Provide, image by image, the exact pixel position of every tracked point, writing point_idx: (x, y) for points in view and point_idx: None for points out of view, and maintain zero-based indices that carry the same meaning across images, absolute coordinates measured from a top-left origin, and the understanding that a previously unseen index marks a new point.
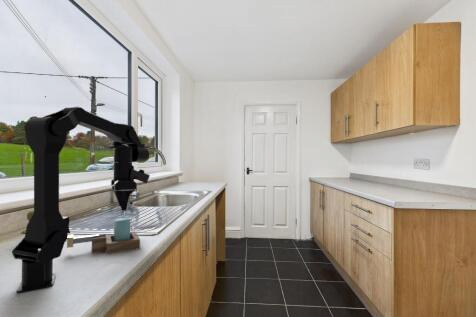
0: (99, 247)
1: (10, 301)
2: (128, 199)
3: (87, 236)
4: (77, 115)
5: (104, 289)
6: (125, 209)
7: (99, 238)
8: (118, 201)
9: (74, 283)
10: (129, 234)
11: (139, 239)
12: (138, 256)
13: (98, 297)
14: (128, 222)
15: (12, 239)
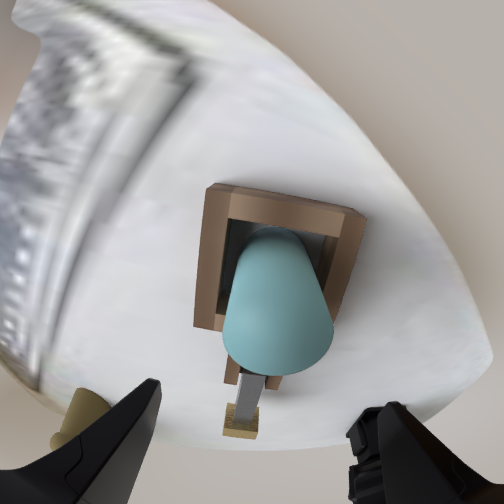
0: None
1: None
2: (460, 461)
3: (251, 401)
4: None
5: (481, 341)
6: (399, 407)
7: None
8: (148, 440)
9: (426, 381)
10: (304, 258)
11: (366, 220)
12: (421, 244)
13: (488, 349)
14: (326, 305)
15: None
